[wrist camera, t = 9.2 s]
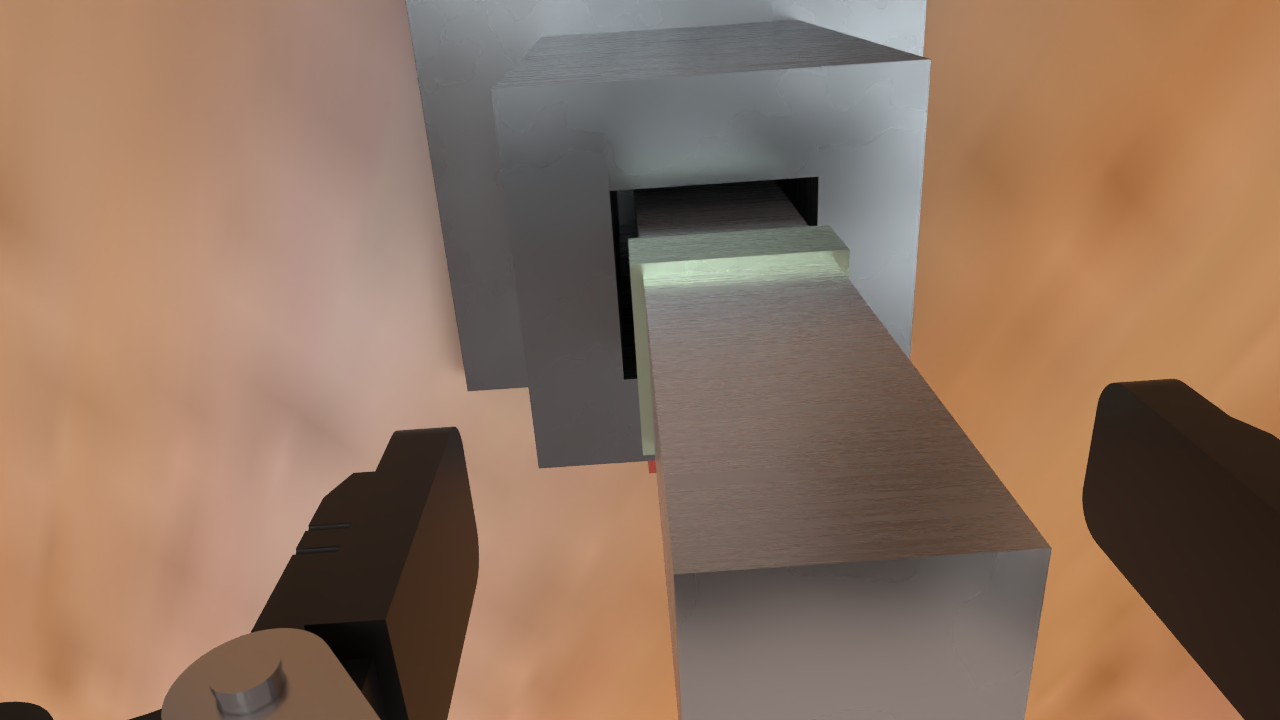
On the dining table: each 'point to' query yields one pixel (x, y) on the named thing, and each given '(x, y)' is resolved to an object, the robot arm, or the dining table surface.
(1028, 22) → the dining table surface
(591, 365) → the stand housing
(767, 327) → the column
